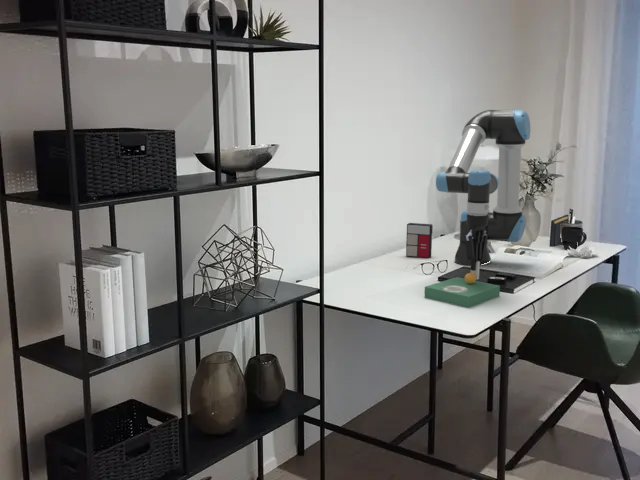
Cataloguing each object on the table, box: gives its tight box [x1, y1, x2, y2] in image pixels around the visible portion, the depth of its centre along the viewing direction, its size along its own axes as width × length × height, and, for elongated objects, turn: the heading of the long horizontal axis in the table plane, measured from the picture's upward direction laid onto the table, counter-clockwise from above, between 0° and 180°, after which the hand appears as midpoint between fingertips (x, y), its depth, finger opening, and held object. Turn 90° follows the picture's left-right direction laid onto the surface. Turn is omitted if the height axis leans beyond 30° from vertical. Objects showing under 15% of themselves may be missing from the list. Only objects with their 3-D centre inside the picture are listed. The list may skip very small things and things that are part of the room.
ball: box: [464, 272, 477, 284], centre depth 238 cm, size 4×4×4 cm
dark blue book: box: [549, 214, 569, 248], centre depth 319 cm, size 20×2×15 cm, turn 139°
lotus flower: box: [566, 241, 599, 259], centre depth 291 cm, size 14×15×9 cm
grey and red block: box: [405, 222, 433, 259], centre depth 299 cm, size 11×4×15 cm, turn 67°
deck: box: [424, 276, 501, 308], centre depth 235 cm, size 18×20×4 cm
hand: (474, 278), depth 239 cm, fingers closed
